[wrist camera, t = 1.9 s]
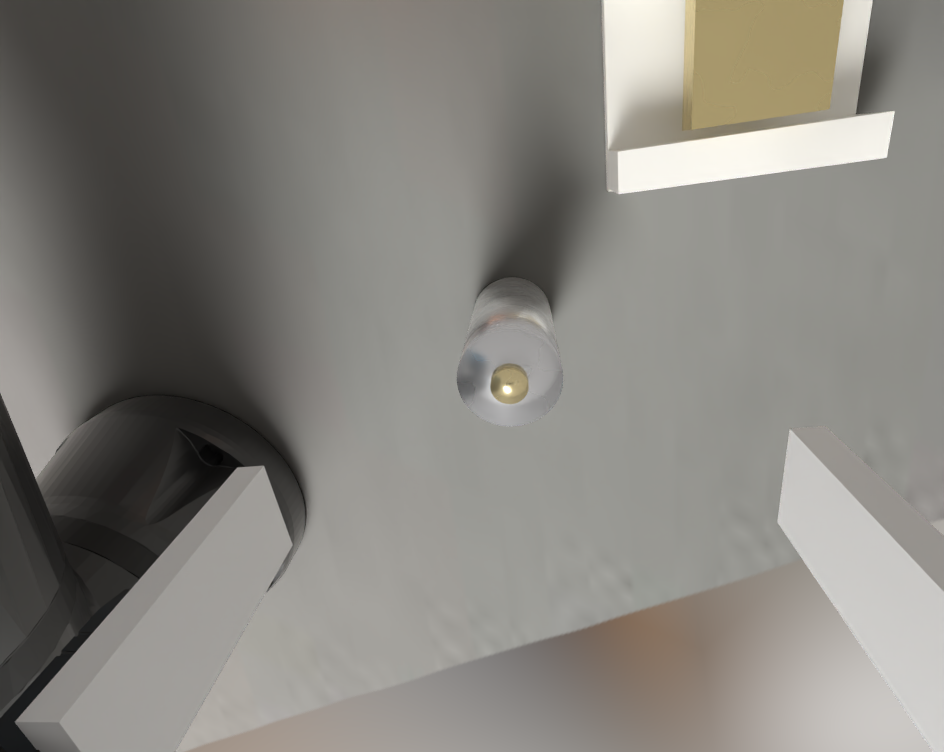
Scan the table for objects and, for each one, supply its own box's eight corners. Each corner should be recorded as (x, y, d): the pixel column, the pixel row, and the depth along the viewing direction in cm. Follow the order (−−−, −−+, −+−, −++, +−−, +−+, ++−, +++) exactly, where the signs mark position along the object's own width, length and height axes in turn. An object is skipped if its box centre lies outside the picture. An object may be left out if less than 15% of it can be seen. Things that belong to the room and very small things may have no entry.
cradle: (607, 190, 23) (618, 196, 21) (599, -52, 20) (613, -83, 17) (840, 158, 22) (885, 160, 19) (879, -107, 18) (941, -151, 16)
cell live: (478, 354, 27) (463, 438, 20) (468, 282, 26) (447, 341, 18) (553, 347, 27) (568, 430, 19) (547, 272, 25) (561, 330, 17)
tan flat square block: (682, 130, 20) (691, 130, 19) (686, -17, 18) (696, -27, 17) (812, 111, 19) (829, 109, 18) (830, -44, 18) (851, -56, 16)
